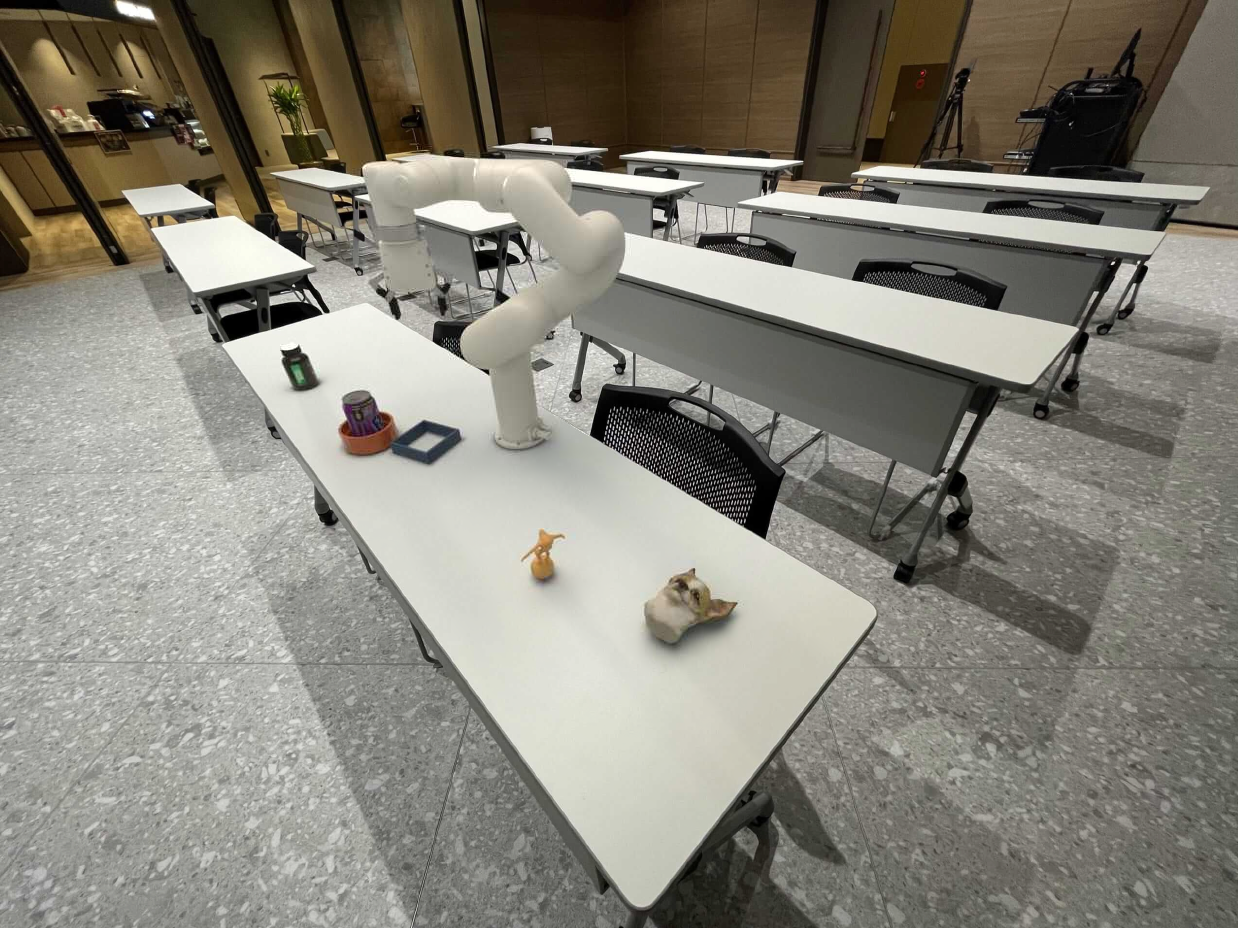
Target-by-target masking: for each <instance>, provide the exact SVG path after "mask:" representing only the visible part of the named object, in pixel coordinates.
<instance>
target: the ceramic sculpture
mask: <svg viewBox="0 0 1238 928" xmlns="http://www.w3.org/2000/svg"><path fill="white" fill-rule="evenodd" d="M738 604H739V602H738V601H726V600H723V599H721V598H711V591H710V588H709V587H708V585H707V584H706V583H705V582H703V581H702V580H701V579H700V578H698V577H697V576H696V568H695V567H692V568H691V569H689V570H688V571H686V572H684V573H680V574H675V575H674V576H673V577H671V578H669V581H668V583H667V584H666V585H665V586H664V587H663V589H661V590H660V591H659V593H658V594H657V595H656V597H654V598H652V599H649V600H647V601H645V602H644V603H643V606H644V609H643V615H644V619H645V624H646V627H648V628H649V629H650V631H651V633H652V635H653V636H654V637H655V638H657V639H659V640H661V641H663V642H664V643H667V644H674V643H676V642H678V641H679V639H680V638H681V637H682V635H683V634H684V632H685V631H686V630H687V629H689V628H691V627H693V626H695V625H697V624H699V623H717V622H719V621H722V620H724V619H727V617H728V616H730V614H731V613H732V612H733V611H734V609H735V608H736V606H737V605H738Z"/></svg>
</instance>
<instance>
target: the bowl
mask: <svg viewBox="0 0 1238 928" xmlns="http://www.w3.org/2000/svg"><path fill="white" fill-rule="evenodd" d="M379 412H380V415H381V418H382V421H383V424H384V427H385V428H384V429H383V430H381V431H379V432H377V433H375V434H372V435H368V436H363V437H354V436H353V433H352V431H351V428H350V426H349V423H348V421H347V419H345V420H344V421H343V422H342V423H340V425H339V426H338V428H337V431H338V435H339V438H340V440H341V443H342V444H343V447H344V449H345V451H347V452H348V453H350V454H353V455H360V456H366V455H367V456H368V455H372V454H376V453H379V452H382V451H384V450H386V449H389V448H391V445H390V442H391V441H393V440H394V439H396V438H397V437H399V436H400V435H399V432H398V429H397V426H396V423H395V420H394V417H393V415H392V414H391V413H389V412H385V411H380V410H379Z"/></svg>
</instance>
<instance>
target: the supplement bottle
mask: <svg viewBox="0 0 1238 928" xmlns="http://www.w3.org/2000/svg"><path fill="white" fill-rule="evenodd" d="M279 350H280V352H281V355H282V358H281V365H282V367H283V369H284V371H285V373H286V376H287V378H288V380H289V383H290V384H291V387H292V388H293V389H294V390H295V391H307V390H311V389H313V388H315V387H317V386H318V384H319V379H318V376H317V374H316V372H315V368H314V367H313V364H312V362H311V360H310V357H309V356H308V354H306V353H305V352H303V349H302V348H301V346H300V344H298V343H290V344H286V345H283V346H281V347H280V349H279Z"/></svg>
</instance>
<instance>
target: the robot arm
mask: <svg viewBox="0 0 1238 928" xmlns="http://www.w3.org/2000/svg"><path fill="white" fill-rule="evenodd" d="M361 171H362V175H363V180H364V183H365V188H366V190H367V194H368V197H369V200H370V205H371V209H372V212H373V215H374V219H375V223H376V227H377V229H378V234H379V237H380V240H379V242H378V248H379V249H378V251H379V257H380V263H381V268H382V270H381V271H380V272H379V273H377V274H376V275H375V276H373V277H372V278H370V279H369V280H368V285H369V286H370V287H371V288H372V290H373V291H375V293H376V294H377V295H378V296H379V297H381V298H382V299H384V300H385V301H386V303H387V304H388V307H389V310H390V313H391V315H392V316H394V319H395V320H396V321H399V320H400V319H401V317H402V311H401V309H400V305H399V302H398V298H397V297H395V294H396V293H409V292H422V291H430V290H431V291H432V292H433V293H434V294H435V295H437V299H436V301H437V304H438V309H439V312H440V313H439V314H440V316H441V317H445V316H446V313H447V311H448V310H449V308H448V303H447V298H446V295H447V293H448V292H449V291H450V289H451V287H452V284H453V279H454V274H453V272H450V271H447V270H445V269H442V268H440V267H437V266H435V265H436V264H435V262H434V259H433V256H432V253H431V250H430V247H429V243H428V241H427V240H426V237H425V236H421V235H422V234H424V233H427V227H426V225H425V224H423V225H422V224H420V223H419V222H418V220H417V217H416V212H415V210H420V209H424V208H427V207H430V206H433V205H438V204H440V203H444V202H447V201H448V202H449V201H464V202H465V201H468V202H477V203H478V204H479V206H480V207H481V208H482V209H483V210H484V211H486V212H488V213H496V214H497V213H498V214H510V215H511V216H512V218H514V220H515V221H516V222H517V223H518V224H519V225H520V227H522V229H523V230H524V231H525V232H526V233H527V234H528V235H529V236H530V237H531V238H532V239H533V240H534V241H535V242H536V243H537V244H538V245H539V246H540V247H541V248H542V249H543V250H544V251H545V252H546V253H547V254H548V255H549V256H550V257H551V258H552V259H553V260H554V261H555V262H556V263H557V264H558V265H559V266H560V267H559V268H557V269H556V270H555V271H554V272H552V273H550V274H549V275H548V276H546V277H545V278H543V279H541V280H539V281H537V282H536V283H534V284H532V285H530V286H527V287H525V288H523V289H521V290H520V291H518V292H517V293H516V294H514V295H513V296H512V297H510V298H508V299H507V300H505V301H504V302H503V303H501V304H500V305H497V306H496V307H493V308H492V309H490V310H488V311H487V312H486V313H484V314H483V315H482V316H480V317H479V318H478V319H476V320H475V321H473V322H472V323H470V324H469V325H467V326H466V328H465V329H464V330H463V332H462V334H461V336H460V339H459V347H460V352H461V354H462V356H463V358H464V359H465V361H466V362H467V363H468V364H470V365H471V366H473V367H475V368H476V369H480V370H488V372H489V379H490V384H491V389H492V394H493V401H494V406H495V411H496V415H497V421H498V427H497V428H496V429H495V431H494V440H495V442H496V444H498V445H499V446H500V447H503V448H505V449H509V450H523V449H524V450H525V449H529V448H532V447H534V446H536V445H538V444H540V443H541V442H543V441H544V440H546V441H550V440H551V439H552V432H553V427H551V426H547V425H546V424H545V423H544V419H543V417H539V411H538V404H537V403H538V402H537V396H536V388H535V382H534V381H535V380H534V373H533V365H532V348H534V347H535V346H536V345H538V344H539V343H540V342H541V341H542V340H544V339H545V338H546V337H547V336H548V335H549V334H550V333H551V332H552V331H553V330H554V329H555V328H556V327H557V326H558V325H559V324H560V323H562V322H563V321H564V320H566V319H568V318H569V317H571V316H572V315H575V314H576V313H577V312H579V311H580V310H582V309H583V308H585V307H586V306H589V304H591V303H593V302H594V301H596V300H597V299H598V298H599V297H600V296H602V295H603V294H604V293H605V292H606V291H607V290H608V289H609V288H610V287H611V285H612V284H613V283H614V282H615V280H616V279H617V277H618V275H619V273H620V271H621V268H622V266H623V263H624V260H625V255H626V235H625V230H624V227H623V224H622V223H621V221H620V219H619V218H618V217H617V216H616V215H615V214H613V213H612V212H610V211H607V210H599V209H598V210H592V211H589V212H586V213H584V214H582V215H579V214H577V212H575V210H573V208H572V207H571V206H570V204H569V202H570V200H571V198H572V193H573V186H572V185H573V184H572V180H571V177H570V174H569V173H568V171H567V169H565V167H563V165H561V164H560V163H558V162H556V161H554V160H548V159H526V158H525V159H523V158H522V159H517V158H515V159H513V158H512V159H511V158H483V157H482V158H476V157H475V158H474V157H430V158H423V159H418V160H413V161H408V162H407V161H406V162H402V163H399V162H397V161H393V160H392V161H391V160H384V161H383V160H382V161H372V162H368V163H366V164H364V165H363V166H362V170H361ZM438 276H439V277H441V278H443V279H445V283H444V284H443V286H442V285H440V283H438V282H439V277H438ZM383 280H384V282H385V285H386V287H387V289H388V290H386V289H385V288H383V287H382V286H381V285H380V282H381V281H383Z"/></svg>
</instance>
